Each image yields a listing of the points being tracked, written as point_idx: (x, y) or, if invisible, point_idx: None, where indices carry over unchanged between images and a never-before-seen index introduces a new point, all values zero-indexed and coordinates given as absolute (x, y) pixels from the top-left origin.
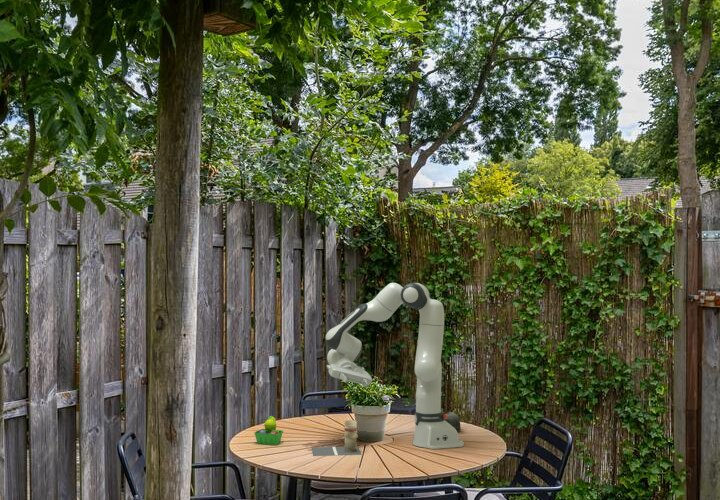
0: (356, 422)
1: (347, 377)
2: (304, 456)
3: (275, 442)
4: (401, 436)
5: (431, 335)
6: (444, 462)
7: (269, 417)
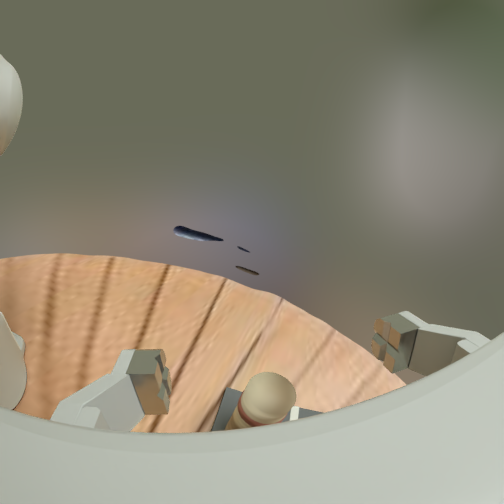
0: (250, 380)
1: (402, 331)
2: None
3: None
4: None
5: None
6: (93, 279)
7: None
